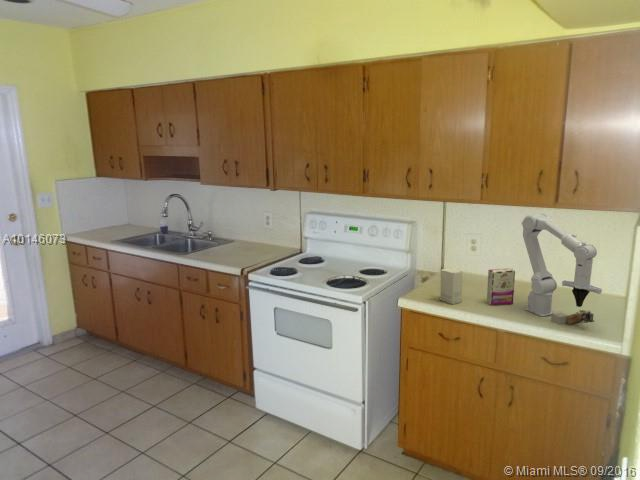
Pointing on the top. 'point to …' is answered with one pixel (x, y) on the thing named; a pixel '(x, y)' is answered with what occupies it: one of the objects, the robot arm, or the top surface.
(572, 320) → the gate
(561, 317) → the doorstop block
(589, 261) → the robot arm
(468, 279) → the top surface
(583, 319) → the gate posts
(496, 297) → the candy bar box
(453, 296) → the skincare box
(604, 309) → the top surface
